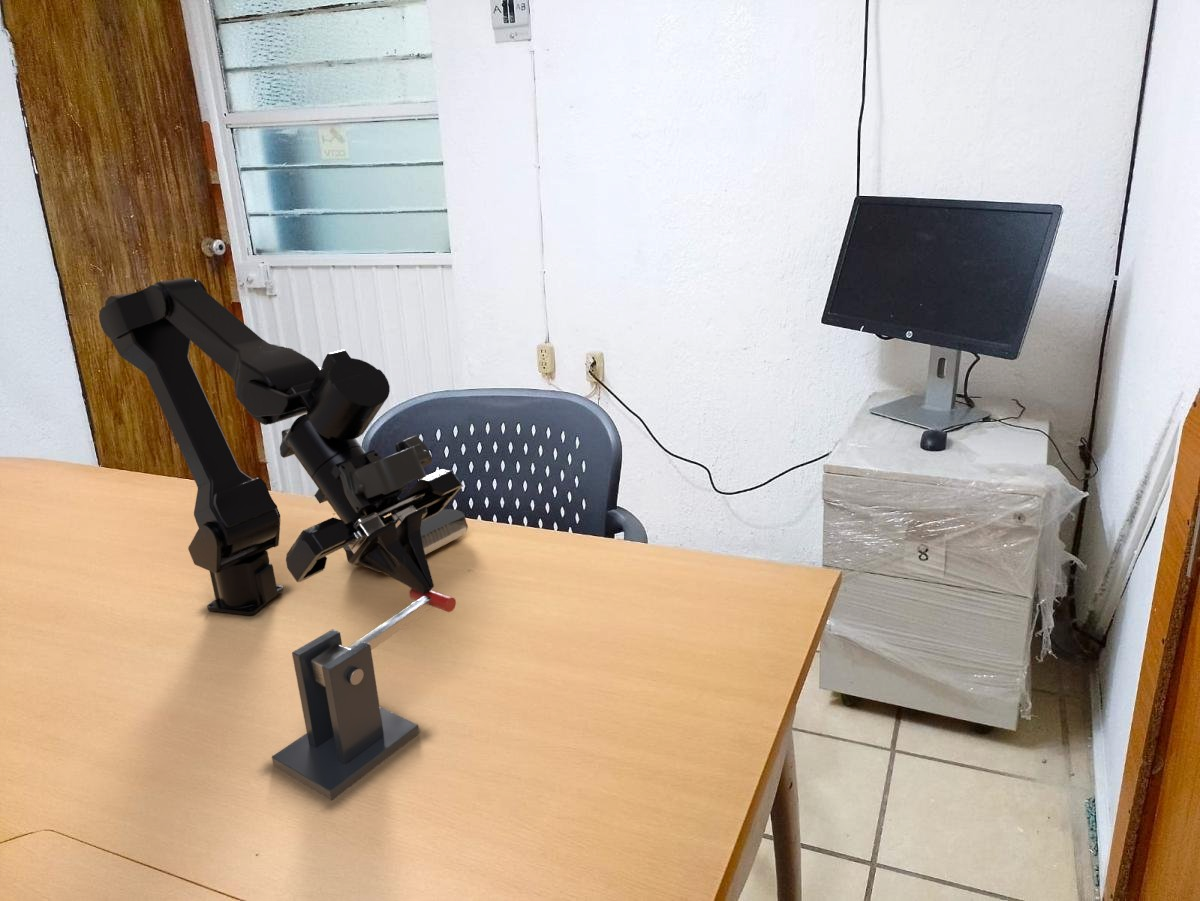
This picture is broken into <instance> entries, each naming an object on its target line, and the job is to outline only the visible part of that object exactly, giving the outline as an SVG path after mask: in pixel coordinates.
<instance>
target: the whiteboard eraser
mask: <svg viewBox="0 0 1200 901" xmlns="http://www.w3.org/2000/svg"><path fill="white" fill-rule="evenodd" d="M467 530H468V522H467V519H466V515H465V513H464V512H462V511H460V510H458V509H452V508H443V509H442V510H441V511H440V512H439V513H437V514H436V515H434V516H432V517H430V518H428V519H426V520H424V521H422V522H421V538H422V544H423V548H424V552H425V556H427V555H428V554H430V553H432V552H433V551H436V550H438V549H439V548H442V547H444V546H445V545H447V544H449V543H451V542H453V541H455V540H457V539H459V538H461V537H463V536H464V535H466V533H467ZM342 549H343V551H344V552H345V555H346V556H345V557H346V560H347V563H349V564H351V563H350V562H349V560H350V559H351V557H352V556H353V555H354V553H353V552H352V550H351V549H350V547H349V546H348V545H347V546H345V547H343V548H342ZM353 566H359V567H362V568H363V567H364V568H368V569H370V570H372V571H375V572H379V573H381V572H380V571H377V570H375V569H373V568H370V567H368V566H366V565H363V564H361V563H356V564H354V565H353Z"/></svg>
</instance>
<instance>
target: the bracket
mask: <svg viewBox="0 0 1200 901" xmlns="http://www.w3.org/2000/svg"><path fill="white" fill-rule="evenodd" d="M336 643H337V644H339V645H341V646H343V641H342V636H341V632H340V631H339V630H336V629H334V628H332V629H330V630H329V631H327V632H324V634H321V635H320V636H318V637H316V638H315V639H313V640H311V641H309V642H308V643H306V644H304V645H303V646H301V647H299V648H297V649H296V650H293V651H292V652H291V655H292V660H293V667H294V672H295V676H296V680H297V681H296V682H297V687H298V692H299V699H300V704H301V709H302V714H303V720H304V725H305V730H306V733H305V734H303V735H302V736H300V737H299V738H297V739H296V740H294V741H292V742H291V743H290V744H288V745H287V746H285V747H284V748H282V749H281V750H280V751H277V752H276V753H275V754H273V755H272V756H271V760H272V765H273V766H274V767H275V768H277V769H278V770H280V771H282V772H283V773H285V774H287V775H288V776H290V777H292V778H293V779H295V780H297V781H299V782H300V783H302V784H304V785H305V786H307V787H308V788H310V789H312V790H313V791H315V792H317V793H318V794H320V795H322V796H323V797H325V798H327V799H328V800H329V801H333V800H335V799H336V798H337V797H339V796H340V795H341V794H343V793H344V792H345V791H346V790H348V789H349V788H350V787H352V786H353V785H354V784H356V783H357V782H358V781H360V780H361V779H362V778H364V777H365V776H366V775H367V774H368V773H370V772H371V771H372V770H374V769H375V768H376V767H378V766H379V765H381V764H382V763H383V762H385V760H387V759H388V758H389V757H391V756H392V755H394V754H395V753H396V752H397V751H399V750H400V749H401V748H402V747H404V746H405V745H407V744H408V743H410V742H411V741H412V740H413V739H414V738H417V736H418V735H420V728H419V724H418V723H415V722H413V721H411V720H409V719H407V718H404V717H403V716H401V715H399V714H396V713H394V712H392V711H391V710H388V709H387V708H384V707H382V706H380V700H379V694H378V688H377V680H376V674H375V667H374V659H373V653H372V650H371V646H370V645H369V644H367V643H365V642H362V643H360V644H358V645H357V646H355V647H353V648H352V649H350V650H349V651H347V652H345V653H344V654H342V655H340V656H339V657H337V658H335V659H334V660H332V661H330V662H329V663H327V664H325V665H324V666H322V670H323V676H324V682H325V686H322V685H320V684H318V683H317V682H316V680H315V676H314V672H313V668H312V664H311V660H312V659H313V658H315V657H316V656H318V655H319V654H321V653H322V652H324V651H325V650H327V649H328V648H330V647H331V646H333V645H334V644H336Z"/></svg>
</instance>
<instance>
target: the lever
mask: <svg viewBox="0 0 1200 901" xmlns="http://www.w3.org/2000/svg"><path fill="white" fill-rule="evenodd" d="M408 594H409V598H410V599H411V600H414V601H413V602H412V603H410V604H409V605H408V606H406V607H405V608H403V609H401V610H400V611H399V612H397V613H396V614H394V615H393V616H391V617H390V618H388V619H387V620H386V621H384V622H382V623H381V624H380V625H378V626H377V627H375V628H374V629H372V630H371V631H369V632H368V633H367V634H365V635H364V636H362V637H361V638H359V639H358V640H356V641H354V642H353V643H352V644H351V645H349V646H347V647H346V646H344V645H342V646H341V645H339V644H337V643H336V644H334V645H333V646H331V647H330V648H328V649H327V650H325V651H324V652H322V653H321V654H319V655H318V656H316V657H315V658H313V659H312V660H311V664H312V668H313V672H314V676H315V680H316V682H317V683H318V684H320V685H322V686H325V682H324V676H323V670H322V666H324V665H325V664H327V663H329V662H330V661H332V660H334V659H335V658H337V657H339V656H340V655H342V654H344V653H345V652H347V651H349V650H350V649H352V648H353V647H355V646H357V645H358V644H360V643H362V642H365V643H367V644H369V645H370V646H371V651H372V650H374V649H375V648H377V647H378V646H380V645H382V644H383V643H384V642H385V641H387V640H388V639H390V638H391V637H392V636H394V635H395V634H397V633H398V632H400V631H401V630H403V629H404V628H405V627H407V626H408V625H410V624H411V623H413V622H414V621H416V619H418V618H420V617H421V616H422V615H424V614H425V613H427V612H428V611H430V609H432V608H435V609H438V610H441V611H443V612H446V613H451V612H453V611H454V609H455V608H456V605H457V601H456V598H454V597H452V596H449V595H446V594H444V593H441V592H438V591H436V590H433V589H431V590H430V591H429V592H427V593H425V594H422V593H420V592H418V591H416V590H414V589H412V588H411V587H410V590H409V593H408Z"/></svg>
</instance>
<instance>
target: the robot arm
mask: <svg viewBox="0 0 1200 901" xmlns="http://www.w3.org/2000/svg"><path fill="white" fill-rule="evenodd" d="M100 308H101V309H100V310H99V312H98V320H99V324H100V327H101V329H102V332H103V333H104V334H105V335H106V337H107V338H109V340H110V341H111V343H112V345H113V346H114V347H115V350H116V351H117V354H118V355H119V356H120V357H121V358H122V359H124V360H125V361H126V362H128V363H130V364H131V365H132V366H133V367H135V368H137V369H138V370H139V371H141V372H143V373H144V375H145V377H146V379H147V381H148V383H149V385H150V387H151V389H152V391H153V394H154V396H155V398H156V400H157V403H158V406H159V407H160V409H161V411H162V414H163V415H164V417H165V419H166V421H167V424H168V426H169V428H170V431H171V433H172V435H173V438H174V439H175V442H176V444H177V445H178V448H179V450H180V452H181V454H182V456H183V458H184V461H185V463H186V465H187V468H188V469H189V472H190V473H191V476H192V478H193V480H194V482H195V484H196V488H197V492H196V498H195V503H194V509H193V510H194V511H193V517H194V520H195V522H196V526H197V528H198V529H197V531H196V533H195V534H194V537H193V538H192V540H191V542H190V543H189V546H188V552H189V555H190V558H191V559H192V560H191V561H192V562H193V564H194V565H195V566H196V567H199V568H202V569H204V570H207V571H208V572H209V576H210V581H211V585H212V590H213V595H214V600H212V601H211V602H210V603H208V604H207V605H206V610H207V611H210V612H219V613H228V614H236V615H237V614H238V615H245V616H252V615H255V614H257V612H259V611H260V610H262V609H263V608H264V607H265V606H266V605H267V604H269V603H270V602H271V601H272V600H273V599H275V598H276V597H277V596H278V595H280V594H281V593H282V592H283V591H284V586H283V585H278V584H277V582H276V575H275V571H274V566H273V564H272V563H270V558H269V552H268V550H271V549H273V548H276V547H278V546H279V544H280V531H281V514H280V511H279V509H278V506H277V504H276V502H275V501H274V499H273V497H272V496H271V493H270V492H269V489H268V485H267V483H266V481H265V480H263V479H262V478H261V477H256V478H252V477H251V476H249V475H247V474H246V473H245V472H243V471H242V470H241V469H240V467H239V465H238V462H237V461H236V459H235V456H234V455H233V452H232V450H231V448H230V446H229V443H228V442H227V439H226V437H225V434H224V433H223V430H222V428H221V426H220V424H219V422H218V420H217V418H216V415H215V413H214V411H213V409H212V407H211V404H210V402H209V400H208V398H207V396H206V394H205V391H204V389H203V387H202V385H201V382H200V381H199V378H198V375H197V374H196V372H195V368H194V367H193V365H192V363H191V360H190V358H189V353H190V347H191V342H192V343H193V344H194V345H195V346H196V347H197V348H199V349H200V350H201V351H202V352H203V353H204V354H205V355H206V356H207V357H209V358H210V359H211V360H212V361H213V362H214V363H215V364H217V365H218V367H220V368H222V370H223V371H224V372H226V373H227V375H228V376H229V377H230V378H231V379H232V380H233V383H234V385H233V386H234V395H235V398H236V399H237V401H239V403H240V404H241V405H242V406H243V408H244V409H245V410H246V412H247V413H248V414H249V415H250V416H251V417H252V418H253V419H254V420H255V421H257V422H258V423H260V424H261V425H264V426H267V425H272V424H275V423H280V422H282V421H285V420H288V419H292V418H295V417H297V418H296V419H295V420H294V421H293V422H292V424H291V426H290V428H287V429H286V428H285V429H282V431H281V443H280V445H279V455H280V457H282V458H283V459H286V458H288V457H291V456H295V457H296V459H297V460H298V462H299V463H300V464H301V466H302V467H303V470H305V472H306V473H307V475H308V476H309V478H311V480H312V481H313V483H314V485H316V487H317V491H316V492H315V494H314V495H313V496H314V498H315V499H316V500H317V502H318V503H319V504H323V503H325V502H328V504H329V505H330V507H331V508H332V509H333V511H334V512H335V514H336V515H337V517H338V518H336V517H334V516H333V517H331V518H328V519H325V520H323V521H321V522H319V523H317V524H314V525H313V526H310V527H307V528H306V529H303V530H302V531H301V532H300V534H299V535H298V537H297V538H296V540H295V541H294V543H293V544H292V546H291V547H290V548H289V550H288V551H287V553H286V557H285V563H286V569H287V570H288V571H289V572H290V575H292V577H293V579H294V580H295V581H296V583H301V582H303V581H305V580H308V579H309V578H311V577H313V576H315V575H317V574H319V573H322V572H324V570H325V569H326V566H327V560H328V557H327V556H329V555H331V554H333V553H335V552H337V551H339V550H342V549H343V547H345V546H347V545H348V546H349V547H350V549H351V550H352V552H353V553H354V555H353V556H352V557H351V559H350V560H349V562H350V563H349V562H348V563H349V564H351V566H355V565H354V564H356V563H361V564H363V565H366V566H368V567H370V568H373V569H375V570H377V571H380V572H379V573H382V574H384V575H386V576H389V577H390V578H392V579H393V580H396V581H398V582H400V583H402V584H403V585H405V586H407V587H409V588H410V589H411V588H412V589H414V590H416V591H418V592H420V593H422V594H425V593H427V592H429V591H430V590H433V588H434V587H435V586H434V580H433V577H432V573H431V570H430V566H429V563H428V560H427V559H428V558H427V555H425V552H424V548H423V544H422V538H421V522H422V521H424V520H426V519H428V518H430V517H432V516H434V515H436V514H437V513H439V512H440V511H441V510H442V509H445V507H447V505H448V504H449V503H450V502H451V500H452V499H453V498H454V497H455V496H456V495H457V493H458V492H460V490H461V489H462V488H463V486H464V485H463V483H462V482H461V481H460V480H459V478H458V477H457V476H456V474H455V472H453V471H452V470H449V469H445V468H441V469H439V470H437V471H435V472H433V473H430V474H426V472H425V469H424V468H425V467H427V466H429V465H432V463H433V456H432V455H431V454H432V453H431V452H430V450H429V448H428V446H427V445H426V444H425V443H424V441H423V440H422V439H421V438H420V437H419V436H418V435H417V434H415V435H414V436H411V437H408V438H406V439H403V440H402V441H398V442H397V443H396V444H395V452H396V453H394V454H391V455H388V456H386V457H382V456H381V454H380V453H379V452H378V451H375V449H372V450H369V451H367V452H366V451H365V450H364V448H363V447H362V445H361V444H360V443H359V441H358V440H357V439H358V438H359V437H361V436H363V434H364V433H365V432H366V431H367V429H368V428H369V426H370V424H371V423H372V422H373V421H374V418H375V417H376V415H377V414H378V413H379V411H380V410H381V408H382V407H383V405H384V404H385V403H386V401H387V400H388V399H389V395H390V393H391V392H390V391H391V390H390V383H389V380H388V378H387V376H386V375H385V373H384V372H383V371H382V370H381V369H380V368H379V369H378V368H376V367H375V366H374V365H373V364H371V363H369V362H367V361H365V360H363V359H358V358H354V357H353V358H352V357H351V356H350V355H349V353H348V352H347V350H346V349H341V350H337V351H334V352H333V351H332V352H329V353H327V354H326V356H325V358H324V359H323V361H322V365H321V367H319V366H318V365H317V364H316V363H315V362H314V361H313V360H312V359H310V358H308V357H307V356H305V355H304V354H301V353H300V352H298V351H297V350H295V349H294V348H291V347H288V346H281V345H278V344H274V343H270V342H268V341H266V340H264V339H263V338H262V337H260V336H259V335H258V334H257V333H256V332H255V331H253V330H252V329H251V328H250V327H249V326H248V325H246V324H245V323H244V322H243V321H241V320H240V318H238V317H236V316H235V314H233V313H232V312H231V311H230V310H228V309H227V308H226V307H225V306H224V305H222V304H221V303H220V302H219V301H218V300H217V299H215V298H214V297H213V296H212V295H210V293H208V291H207V288H206V287H205V284H204V283H203V282H202V281H201V280H199V279H198V278H192V277H183V278H175V279H168V280H161V281H156V282H155V283H154V284H151V285H149V286H147V287H145V288H144V289H141V290H138V291H135V292H130V293H129V292H128V293H122V294H116V295H110V296H109V297H107V298H106V300H105V303H104V306H103V307H100ZM415 480H416V481H417V482H416V483H415V484H414V486H413V487H412V488H411V489H410V490H409V492H408V493H407V494H406V495H405V496H404V497H402V498H399V496H400V495H402V494H404V493H405V492H406V490H407V489H408V488H409V486H408V483H410V482H413V481H415ZM368 567H367V568H368ZM370 568H369V569H370ZM375 570H374V571H375ZM377 571H376V572H377Z"/></svg>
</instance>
